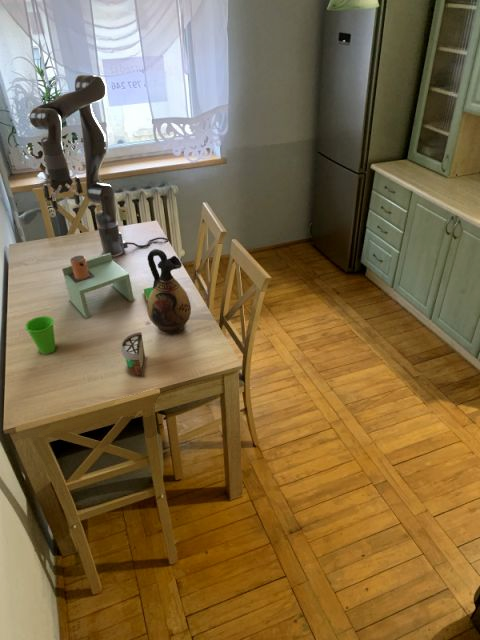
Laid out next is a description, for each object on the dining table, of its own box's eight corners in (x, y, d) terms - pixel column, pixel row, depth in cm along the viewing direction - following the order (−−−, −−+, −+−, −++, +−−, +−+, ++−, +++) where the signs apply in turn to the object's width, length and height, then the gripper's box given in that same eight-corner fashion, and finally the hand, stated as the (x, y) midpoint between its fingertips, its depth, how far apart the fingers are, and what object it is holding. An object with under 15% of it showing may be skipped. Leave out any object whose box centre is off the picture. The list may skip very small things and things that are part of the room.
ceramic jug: (200, 320, 173) (193, 246, 156) (179, 343, 162) (169, 267, 145) (161, 310, 179) (151, 238, 162) (138, 332, 168) (124, 257, 151)
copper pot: (84, 270, 182) (80, 252, 178) (92, 277, 177) (88, 260, 172) (71, 274, 179) (66, 257, 175) (79, 282, 174) (74, 264, 170)
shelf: (116, 284, 197) (109, 252, 188) (133, 300, 186) (127, 266, 177) (70, 301, 187) (61, 268, 178) (86, 318, 176) (77, 284, 168)
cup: (66, 344, 163) (59, 318, 157) (50, 360, 156) (41, 333, 150) (45, 339, 166) (37, 314, 159) (28, 355, 158) (18, 328, 152)
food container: (127, 356, 156) (122, 332, 151) (145, 355, 157) (141, 331, 151) (122, 381, 146) (117, 356, 141) (142, 379, 147) (137, 354, 141)
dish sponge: (161, 290, 192) (160, 285, 190) (170, 306, 181) (169, 301, 180) (144, 294, 190) (143, 288, 188) (152, 311, 179) (151, 305, 178)
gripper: (41, 171, 169) (52, 214, 178) (78, 163, 176) (88, 205, 185) (34, 167, 174) (46, 208, 183) (71, 159, 181) (80, 200, 190)
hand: (67, 206), depth 184 cm, fingers open, 8 cm apart
